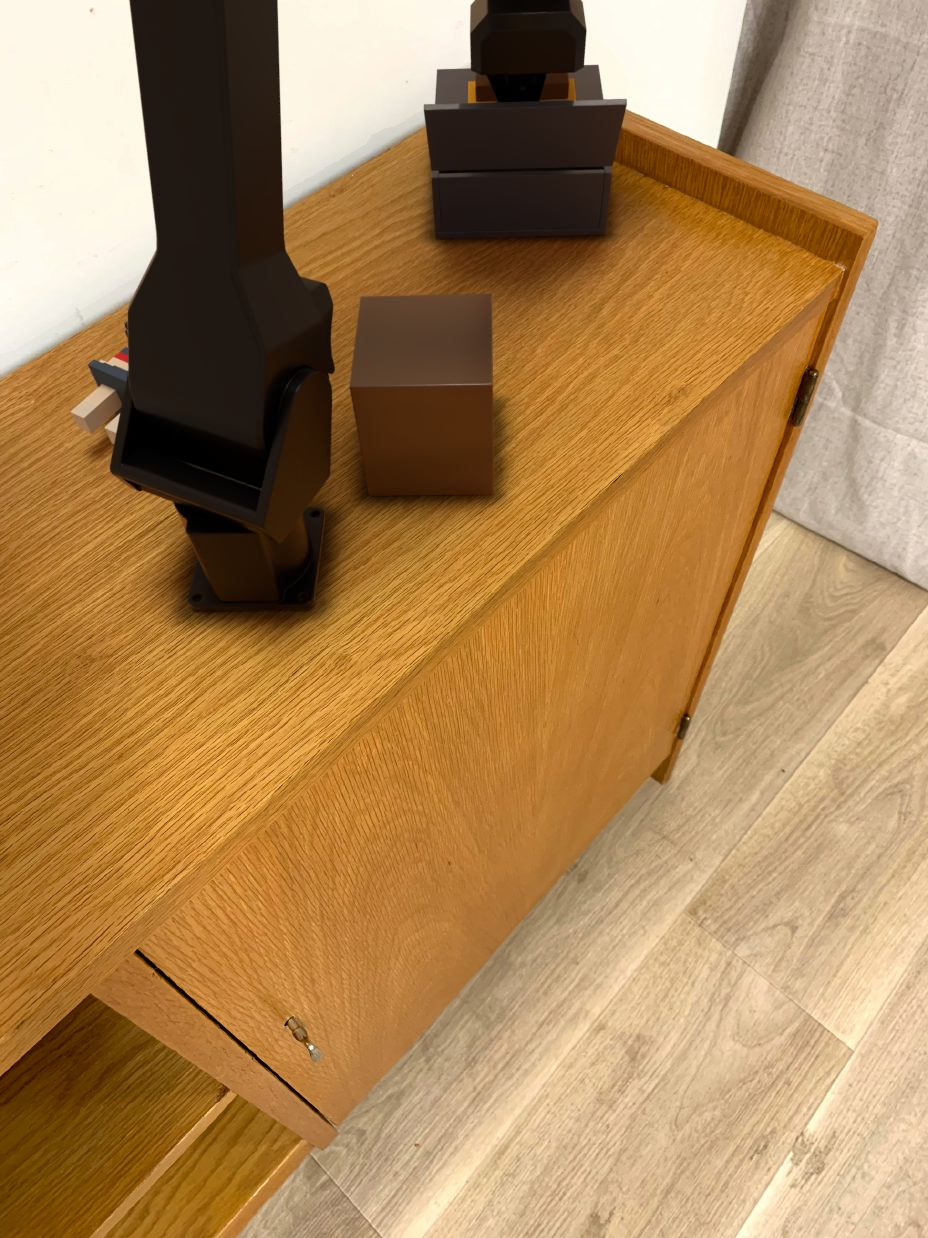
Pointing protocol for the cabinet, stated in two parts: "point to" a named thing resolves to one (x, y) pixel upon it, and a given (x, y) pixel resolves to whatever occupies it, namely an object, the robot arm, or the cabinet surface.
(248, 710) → the cabinet surface
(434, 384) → the stand
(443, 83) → the case
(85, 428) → the figurine
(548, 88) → the duster
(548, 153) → the flap
